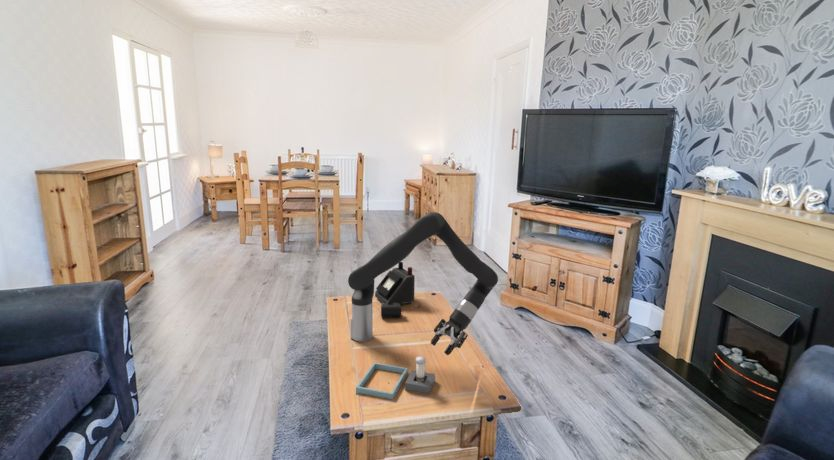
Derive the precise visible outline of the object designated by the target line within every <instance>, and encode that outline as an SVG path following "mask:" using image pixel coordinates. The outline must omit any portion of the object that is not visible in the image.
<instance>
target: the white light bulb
mask: <svg viewBox="0 0 834 460" xmlns="http://www.w3.org/2000/svg"><path fill="white" fill-rule="evenodd" d="M426 361H427V360H426V357H425V356H424V355H423V356H422V355H421V356H419V355H418V356H416V357H415V364H416V368H415V369H416V370H415V371H416V381H418V382H424V378H425V371H426V370H425V365H426ZM424 383H425V382H424Z"/></svg>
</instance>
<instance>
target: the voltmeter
mask: <svg viewBox="0 0 834 460" xmlns="http://www.w3.org/2000/svg"><path fill="white" fill-rule="evenodd" d="M397 265H398V266H397V267H392V268H391V269H392V270H388V272H387V273H386V275H385V276H384V277H383V279H382V280H381V281H380V283H379V284H378V285H377V286H376V288H375V291H374V297H375V298H377V300H378V301H380V302H381V304H382V303H388V305H393V303H399V305H403V304H411V303H413V302H415V281H416V280H415V274H413V268H412V266H410V267H407V269H405V268H404V262H403V261H401V262H400V263H398V264H397Z"/></svg>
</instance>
